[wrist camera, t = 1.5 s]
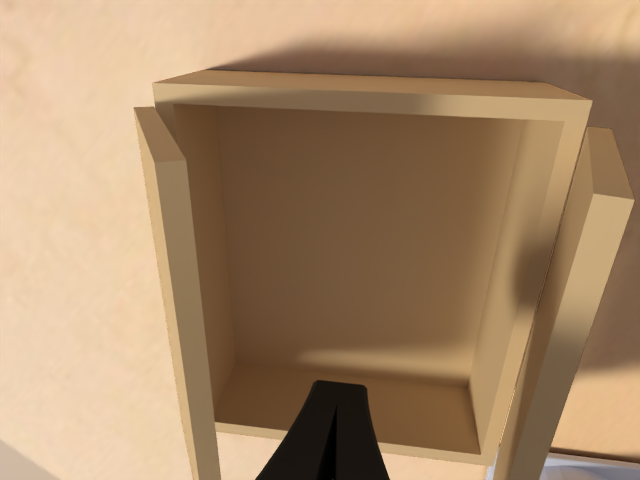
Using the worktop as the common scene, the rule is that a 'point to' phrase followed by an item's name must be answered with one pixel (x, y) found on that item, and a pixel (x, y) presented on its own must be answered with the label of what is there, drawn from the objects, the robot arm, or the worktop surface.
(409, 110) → the carton
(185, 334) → the flap
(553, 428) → the flap
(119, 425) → the worktop surface
